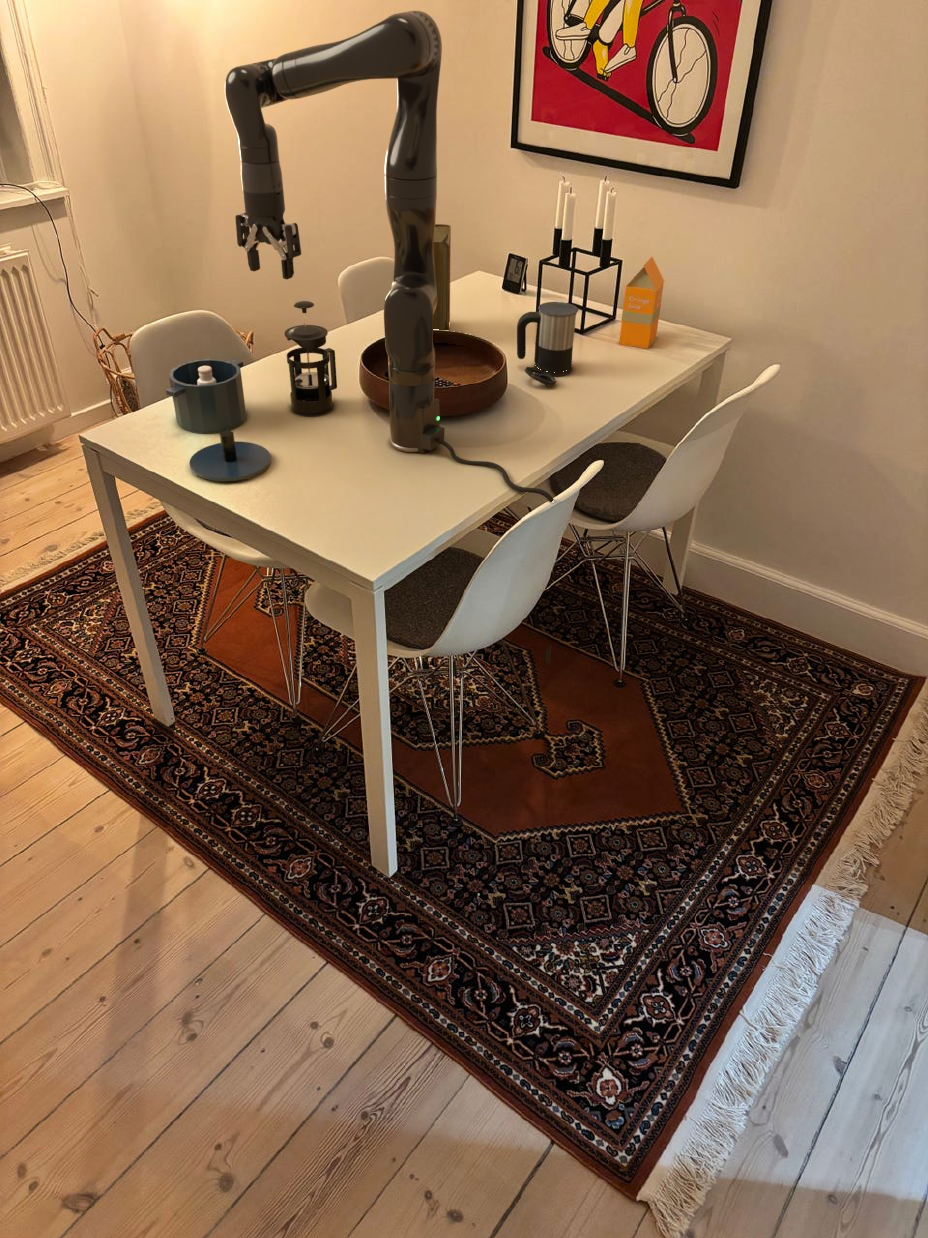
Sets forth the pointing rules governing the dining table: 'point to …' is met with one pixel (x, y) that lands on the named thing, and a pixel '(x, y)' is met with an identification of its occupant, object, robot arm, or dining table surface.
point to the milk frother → (549, 340)
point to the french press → (310, 382)
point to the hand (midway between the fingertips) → (271, 274)
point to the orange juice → (642, 307)
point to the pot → (208, 396)
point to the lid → (230, 459)
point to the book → (442, 275)
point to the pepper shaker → (205, 376)
